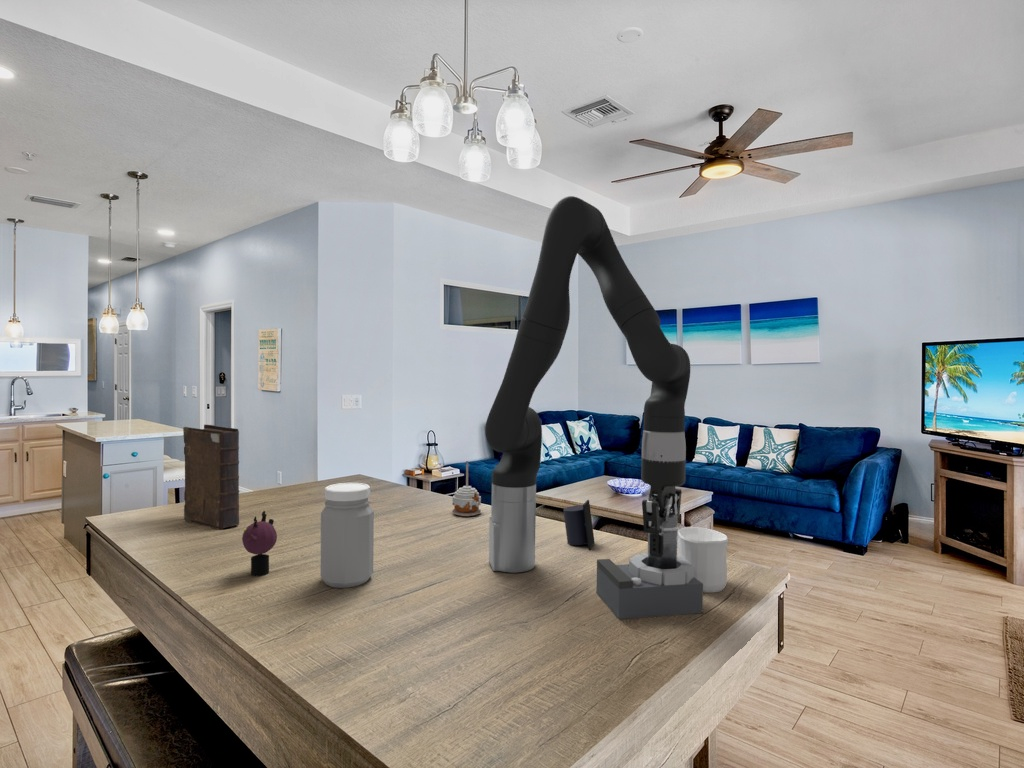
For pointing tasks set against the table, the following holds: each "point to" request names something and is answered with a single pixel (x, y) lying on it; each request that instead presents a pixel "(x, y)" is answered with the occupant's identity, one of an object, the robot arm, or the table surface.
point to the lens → (666, 546)
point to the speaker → (579, 525)
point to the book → (211, 476)
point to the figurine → (259, 544)
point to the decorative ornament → (466, 500)
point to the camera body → (648, 588)
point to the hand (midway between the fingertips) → (661, 551)
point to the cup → (705, 555)
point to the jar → (347, 535)
